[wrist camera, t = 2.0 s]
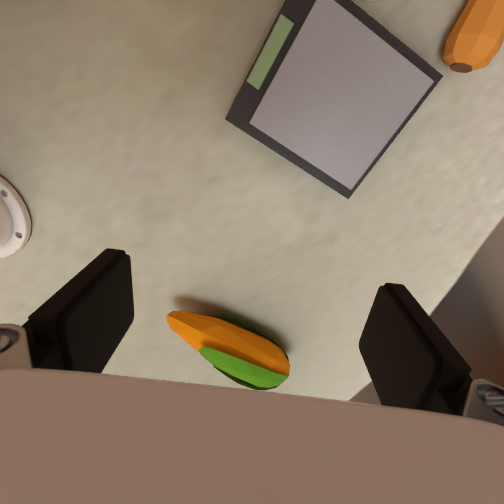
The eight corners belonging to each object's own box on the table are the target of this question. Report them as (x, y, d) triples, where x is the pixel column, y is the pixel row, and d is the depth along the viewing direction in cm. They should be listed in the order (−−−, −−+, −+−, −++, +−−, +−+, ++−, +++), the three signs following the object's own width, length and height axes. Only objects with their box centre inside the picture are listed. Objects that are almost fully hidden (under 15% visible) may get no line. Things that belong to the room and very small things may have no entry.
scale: (227, 118, 32) (224, 119, 29) (301, -26, 27) (306, -43, 24) (342, 193, 35) (350, 201, 32) (429, 78, 30) (448, 75, 27)
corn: (275, 414, 42) (144, 356, 37) (271, 373, 49) (161, 321, 45) (305, 380, 39) (169, 315, 35) (296, 342, 46) (183, 284, 42)
